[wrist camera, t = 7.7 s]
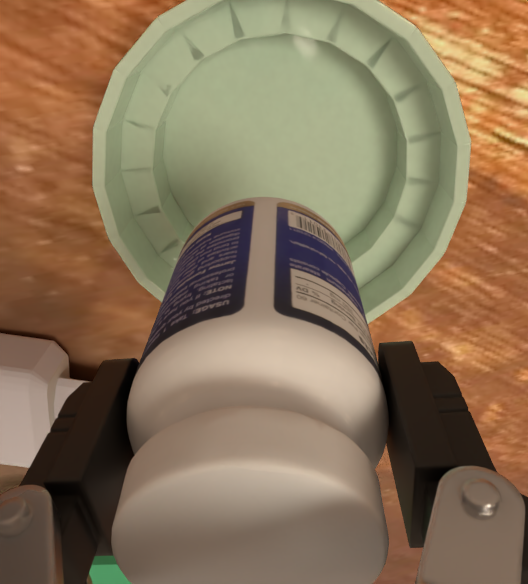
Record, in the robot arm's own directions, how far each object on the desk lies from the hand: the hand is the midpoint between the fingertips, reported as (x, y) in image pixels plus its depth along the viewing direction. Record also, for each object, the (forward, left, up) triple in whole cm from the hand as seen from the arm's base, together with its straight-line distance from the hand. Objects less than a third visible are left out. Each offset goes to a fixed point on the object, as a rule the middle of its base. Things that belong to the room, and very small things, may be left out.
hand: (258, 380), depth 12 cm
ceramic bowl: (0, 0, -19) cm, 19 cm away
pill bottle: (0, 0, -6) cm, 6 cm away
